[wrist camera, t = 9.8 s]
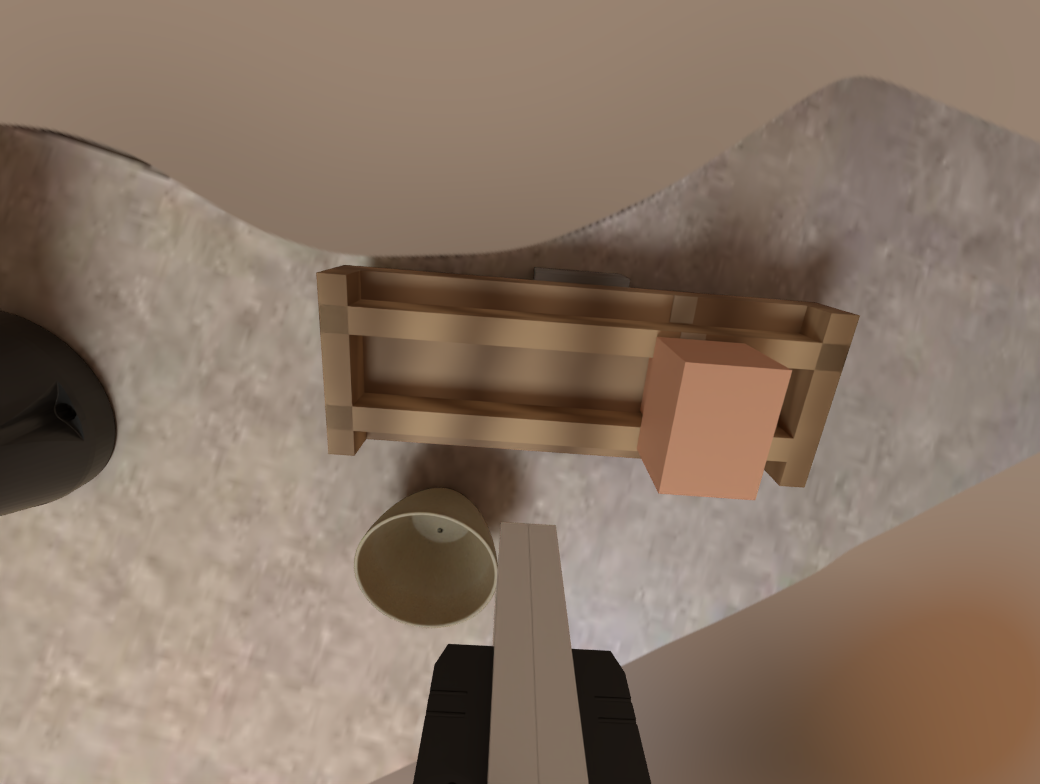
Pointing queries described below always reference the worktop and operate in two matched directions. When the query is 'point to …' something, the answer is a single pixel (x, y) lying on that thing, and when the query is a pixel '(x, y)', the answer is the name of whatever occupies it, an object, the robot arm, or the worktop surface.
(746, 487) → the block
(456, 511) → the flower pot
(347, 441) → the wooden crate
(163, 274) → the worktop surface
